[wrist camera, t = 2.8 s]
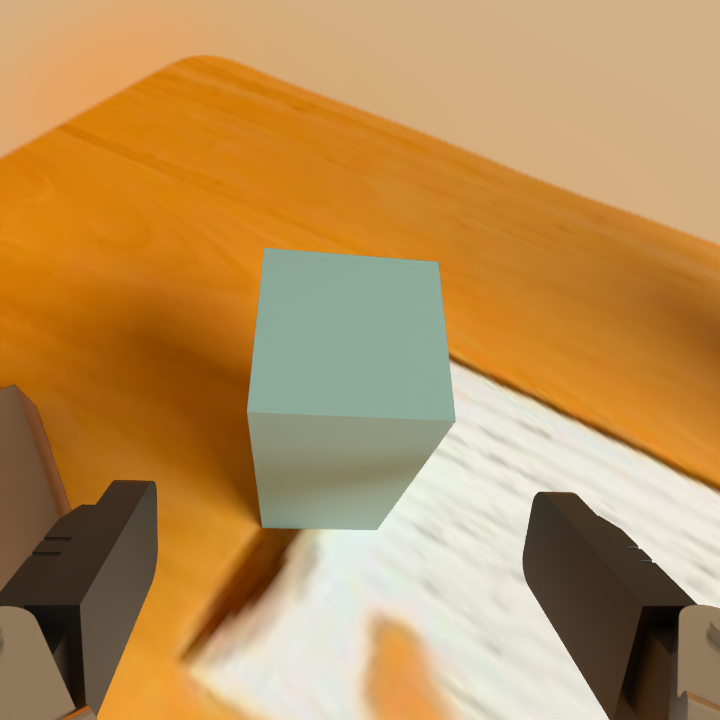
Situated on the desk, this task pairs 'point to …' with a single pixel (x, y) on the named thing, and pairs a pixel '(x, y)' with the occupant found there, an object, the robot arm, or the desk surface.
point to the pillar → (345, 386)
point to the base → (25, 482)
